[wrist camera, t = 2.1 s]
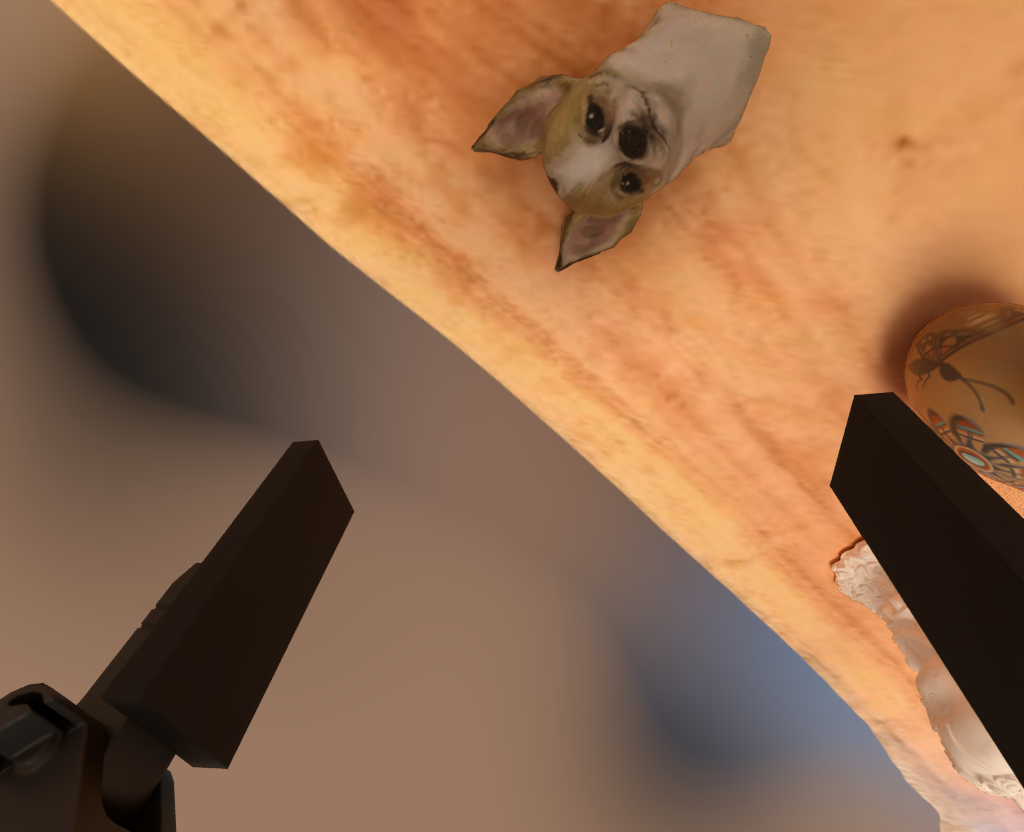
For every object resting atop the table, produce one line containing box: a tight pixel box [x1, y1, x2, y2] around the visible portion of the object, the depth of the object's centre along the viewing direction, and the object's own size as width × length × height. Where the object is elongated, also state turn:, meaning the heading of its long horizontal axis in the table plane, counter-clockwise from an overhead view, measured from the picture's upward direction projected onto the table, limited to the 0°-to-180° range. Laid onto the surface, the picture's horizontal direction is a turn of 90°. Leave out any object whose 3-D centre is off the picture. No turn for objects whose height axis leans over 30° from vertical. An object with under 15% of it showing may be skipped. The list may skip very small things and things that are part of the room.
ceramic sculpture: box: [471, 2, 771, 272], centre depth 27 cm, size 11×9×15 cm
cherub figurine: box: [831, 540, 1024, 812], centre depth 41 cm, size 13×12×20 cm
